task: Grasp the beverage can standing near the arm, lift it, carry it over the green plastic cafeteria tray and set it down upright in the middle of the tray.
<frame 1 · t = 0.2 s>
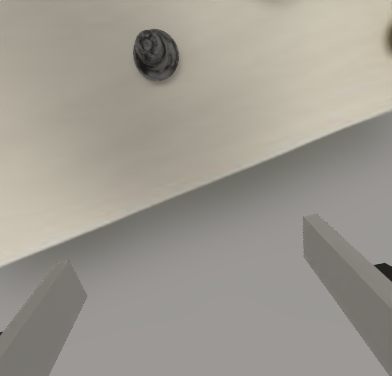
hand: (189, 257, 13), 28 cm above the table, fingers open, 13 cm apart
salt shaker: (159, 59, 34), on the table
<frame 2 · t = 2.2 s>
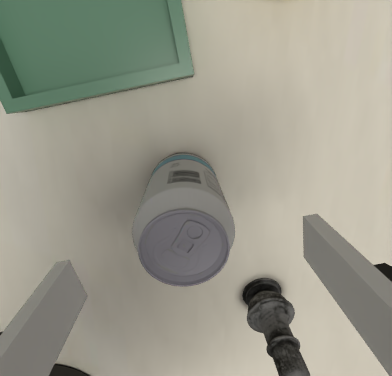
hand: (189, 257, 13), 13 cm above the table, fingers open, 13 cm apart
salt shaker: (261, 292, 32), on the table
tray: (80, 3, 19), on the table
beverage can: (183, 181, 25), on the table
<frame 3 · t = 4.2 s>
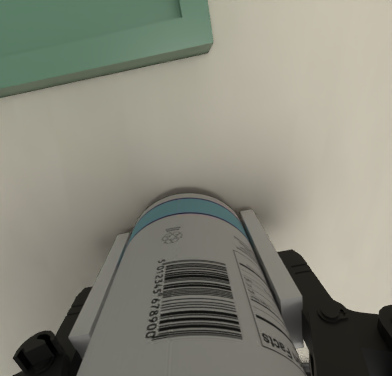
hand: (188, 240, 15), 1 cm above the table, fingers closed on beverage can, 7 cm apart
beverage can: (188, 233, 15), on the table, touching gripper
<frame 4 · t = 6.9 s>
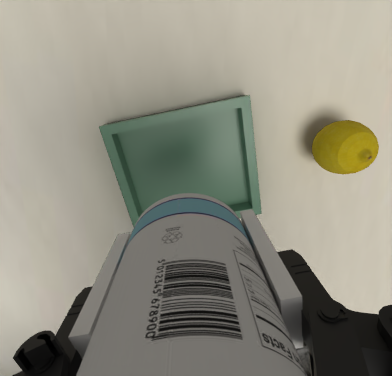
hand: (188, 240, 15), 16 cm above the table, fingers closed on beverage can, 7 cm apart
salt shaker: (291, 336, 42), on the table
fruit: (321, 140, 29), on the table
tray: (187, 167, 29), on the table
beverage can: (188, 233, 15), point 15 cm above the table, touching gripper
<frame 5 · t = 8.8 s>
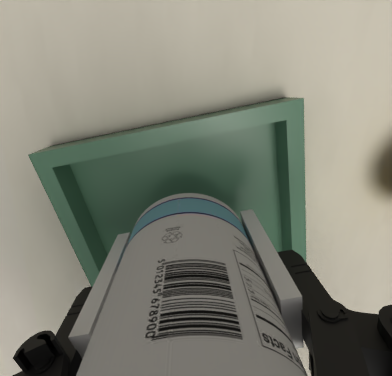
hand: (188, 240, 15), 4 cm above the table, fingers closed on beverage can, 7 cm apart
tray: (187, 213, 18), on the table
beverage can: (188, 233, 15), point 3 cm above the table, touching gripper
when the fingers open (2 cm above the table, at t = 10.0 s): beverage can moves 1 cm, resting on tray.
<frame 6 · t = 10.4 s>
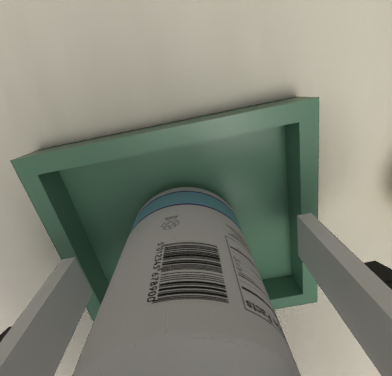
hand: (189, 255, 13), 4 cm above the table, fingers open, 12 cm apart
tray: (188, 222, 17), on the table
beverage can: (186, 225, 16), resting on tray
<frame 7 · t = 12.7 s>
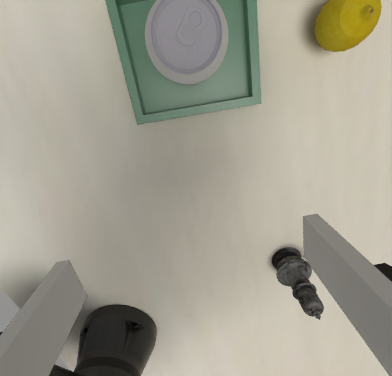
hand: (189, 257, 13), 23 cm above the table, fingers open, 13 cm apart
salt shaker: (285, 258, 43), on the table
fruit: (324, 30, 28), on the table
tray: (189, 54, 29), on the table
beverage can: (188, 54, 29), resting on tray
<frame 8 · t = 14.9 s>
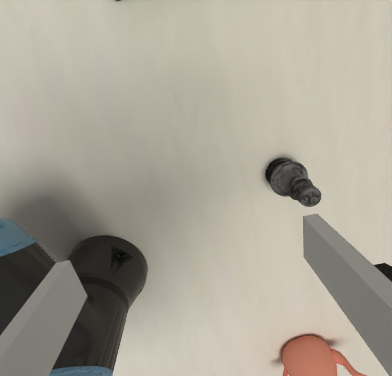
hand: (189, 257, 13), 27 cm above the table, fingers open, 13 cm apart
salt shaker: (280, 172, 40), on the table
teapot: (306, 347, 58), on the table
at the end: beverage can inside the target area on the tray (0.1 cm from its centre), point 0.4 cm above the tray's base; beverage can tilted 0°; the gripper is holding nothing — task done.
